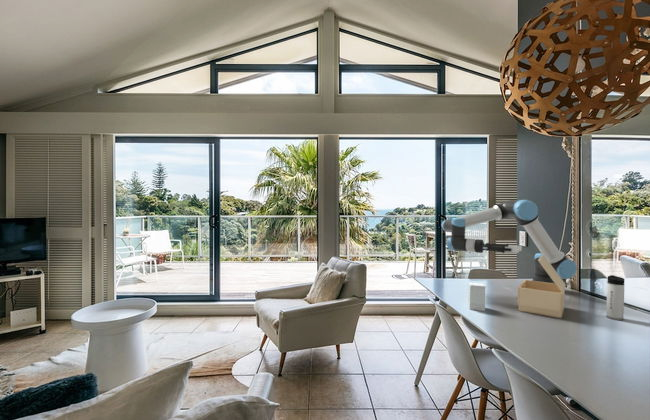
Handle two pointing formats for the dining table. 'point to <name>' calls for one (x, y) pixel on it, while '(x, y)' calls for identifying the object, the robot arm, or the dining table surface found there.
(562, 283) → the carton flap
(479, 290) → the supplement box
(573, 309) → the dining table surface
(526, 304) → the carton
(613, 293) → the travel mug
